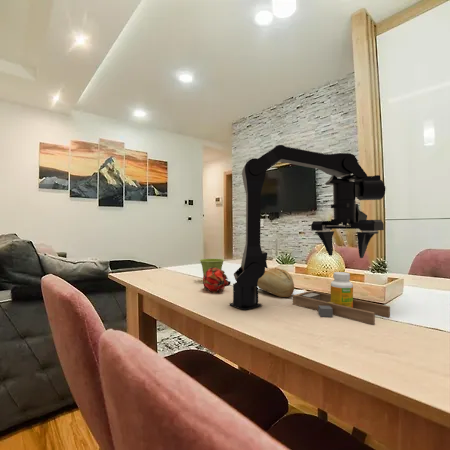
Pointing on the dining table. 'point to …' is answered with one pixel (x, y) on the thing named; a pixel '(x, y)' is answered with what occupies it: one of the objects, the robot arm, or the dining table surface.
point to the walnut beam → (344, 307)
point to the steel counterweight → (312, 296)
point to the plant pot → (211, 264)
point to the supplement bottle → (342, 289)
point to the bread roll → (277, 282)
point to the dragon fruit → (215, 279)
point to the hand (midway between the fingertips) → (345, 256)
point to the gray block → (325, 311)
